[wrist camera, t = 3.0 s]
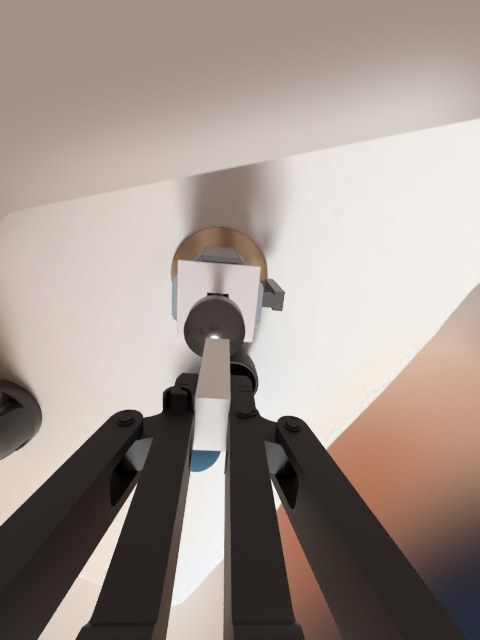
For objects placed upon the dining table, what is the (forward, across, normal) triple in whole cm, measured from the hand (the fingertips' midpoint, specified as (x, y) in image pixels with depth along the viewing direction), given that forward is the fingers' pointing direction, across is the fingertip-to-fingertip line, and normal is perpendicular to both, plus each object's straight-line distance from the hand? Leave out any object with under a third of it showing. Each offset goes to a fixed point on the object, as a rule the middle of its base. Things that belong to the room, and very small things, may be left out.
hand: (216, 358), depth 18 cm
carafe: (+30, +1, 0) cm, 30 cm away
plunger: (+17, 0, 0) cm, 17 cm away
